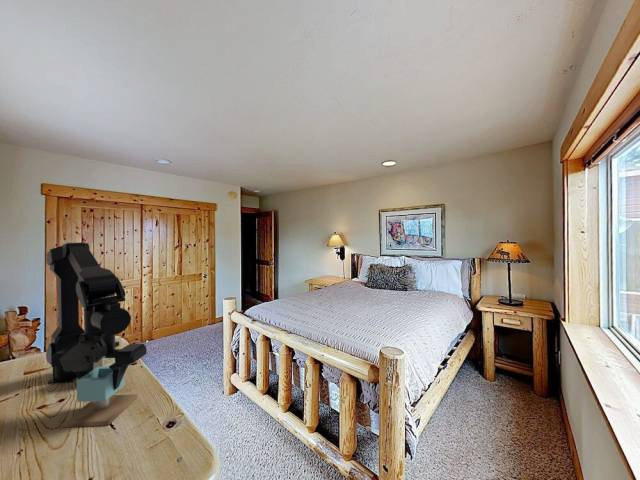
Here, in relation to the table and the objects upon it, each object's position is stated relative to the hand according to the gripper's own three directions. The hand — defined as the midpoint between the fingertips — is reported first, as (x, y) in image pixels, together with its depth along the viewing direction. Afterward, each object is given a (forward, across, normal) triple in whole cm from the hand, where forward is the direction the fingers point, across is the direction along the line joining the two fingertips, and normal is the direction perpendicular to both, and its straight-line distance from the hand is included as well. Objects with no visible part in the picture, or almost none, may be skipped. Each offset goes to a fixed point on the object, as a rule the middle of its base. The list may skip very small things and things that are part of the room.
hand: (102, 388), depth 65 cm
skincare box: (+6, -10, +15) cm, 19 cm away
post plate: (+6, 0, 0) cm, 6 cm away
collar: (+1, 0, 0) cm, 1 cm away
